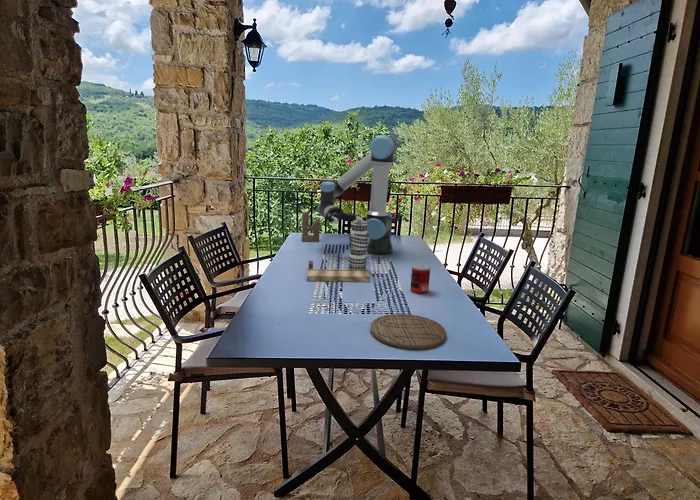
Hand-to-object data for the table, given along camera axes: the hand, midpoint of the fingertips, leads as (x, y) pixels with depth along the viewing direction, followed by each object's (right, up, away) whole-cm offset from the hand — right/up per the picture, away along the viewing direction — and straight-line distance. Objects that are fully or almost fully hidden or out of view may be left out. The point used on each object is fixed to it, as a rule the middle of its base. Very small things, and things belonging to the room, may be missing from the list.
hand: (349, 221), depth 216 cm
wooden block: (-24, -9, +56) cm, 62 cm away
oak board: (-5, -27, -15) cm, 31 cm away
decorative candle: (+4, -25, -3) cm, 25 cm away
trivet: (+19, -42, -70) cm, 84 cm away
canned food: (+30, -32, -28) cm, 52 cm away
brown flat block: (-19, -24, -5) cm, 31 cm away
